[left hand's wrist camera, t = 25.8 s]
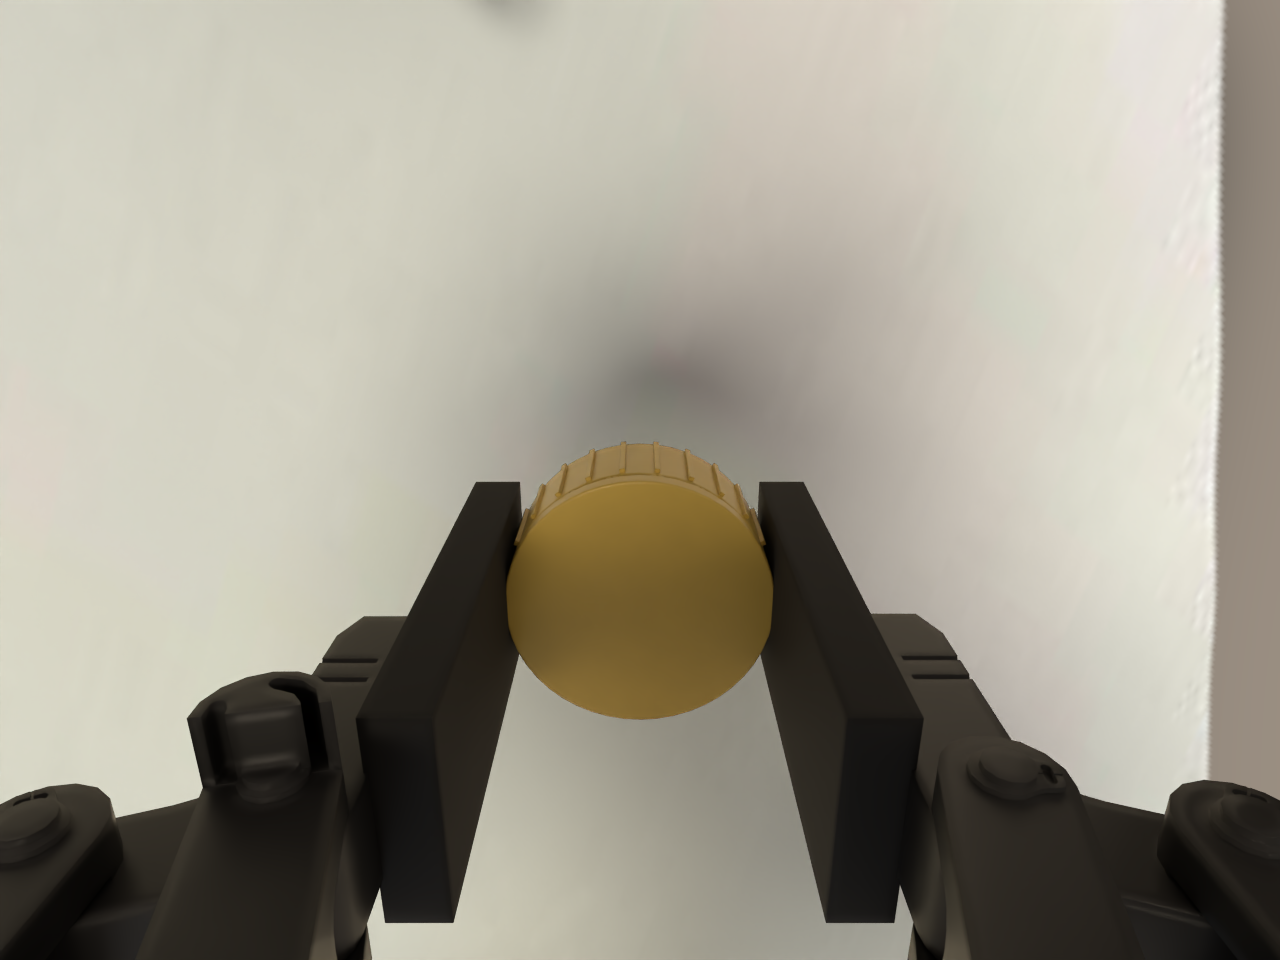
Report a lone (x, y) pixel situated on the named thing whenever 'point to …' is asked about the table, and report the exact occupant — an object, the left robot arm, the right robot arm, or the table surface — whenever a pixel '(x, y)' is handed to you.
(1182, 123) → the table surface
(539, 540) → the cap
